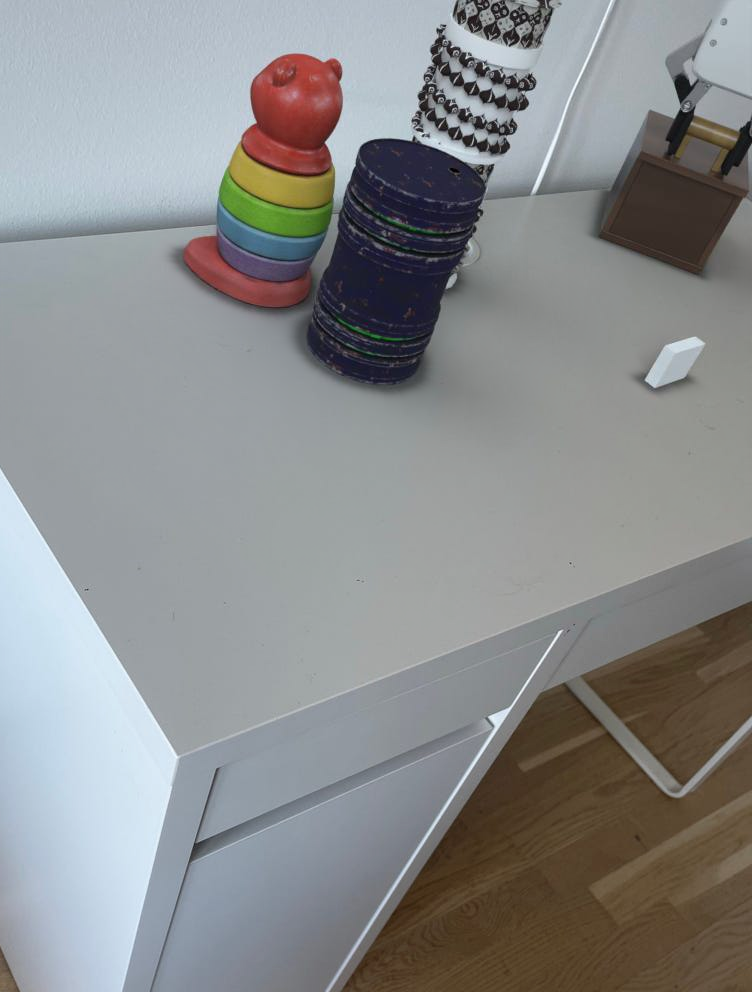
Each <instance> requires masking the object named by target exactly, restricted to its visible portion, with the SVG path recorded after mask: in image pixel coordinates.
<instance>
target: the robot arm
mask: <svg viewBox="0 0 752 992" xmlns="http://www.w3.org/2000/svg"><path fill="white" fill-rule="evenodd" d="M690 59H691V61H692V65H691V73H692V75H694V77H696V79H695V80H694V81H693V82H692V84H691V81H690V78H689V75H688V73H687V71H686V69H685V66H684V64H685V62H687V61H689V60H690ZM664 63H665V67H666V69H667V72H668V73H669V76H670V78H671V80H672V82H673V85H674V89H675V92H676V96H677V99H678V101H679V102H678V103H679V105H680V107H679V110H678V112H677V113H676V115H675V118H674V121H673V123H672V125H671V127H670V129H669V131H668V134H667V136H666V138H665V141H668V142H670V143H669V145H668V151H667V154H669V155H675V153H676V151H677V149H678V147H679V145H680V143H681V141H682V140H683V138H684V136H685V134H686V132H687V130H688V128H689V126H690V124H691V122H692V120H693V118H694V115H695V110H696V108H697V104H698V103H699V102H700V101H701V100H702V99H703V97H705V95H706V94H707V93H708V92H709V91H710V89H712V87H715V88H718V89H721V90H723V91H726V92H729V93H732V94H734V95H737V96H740V97H743V98H745V99H749V100H751V101H752V0H720V1H719V2H718V5H717V7H716V8H715V10H714V12H713V14H712V15H711V17H710V19H709V21H708V23H707V25H706V26H705V29H704V30H703V32H702V33H700V34H699V35H697V36H695V37H694V38H692V39H690V40H689V41H687V42H685V43H684V44H682V45H681V46H679V47H677V48H676V49H674V50H672V51H671V52H669V53H668V54H667V55H666V57H665V62H664ZM738 131H739V132H740V136H739V138H738V140H737V142H736V144H735V146H734V148H733V149H732V150H731V151H730V150H729V152H728V154H727V156H726V158H725V159H724V161H723V163H722V165H721V172H722V174H723V175H725V176H727V175H728V173H729V172H730V170H731V168H732V166H735V167H739V165H740V164H741V162H742V160H743V158H744V157H745V155H746V153H747V151H748V152H749V149H750V148H751V146H752V113H751V114H750V119H749V121H747V122H746V123H745V125H743V126H741V127H740V128H739V130H738Z"/></svg>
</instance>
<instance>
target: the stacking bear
mask: <svg viewBox="0 0 752 992" xmlns="http://www.w3.org/2000/svg"><path fill="white" fill-rule="evenodd" d="M343 74H344V73H343V67H342V64H341V62H340V61H339V60H338V59H336V58H332V57H331V58H329V59H327V60H325V61H322V60H321V59H319V58H316V57H315V56H313V55H309V54H305V53H288V54H283V55H281V56H279V57H277V58H275V59H273V60H271V62H270V63H268V64H267V66H265V67H264V68H263V69H262V70H261V71H260V72H258V73H257V75H256V76H255V77H254V78H253V79H252V81H251V85H250V88H249V92H250V93H249V98H250V106H251V110H252V115H253V117H254V120H255V122H256V123H253V124H251V125H250V126H249V127H248V128H247V129H245V131H244V132H243V133H242V135H241V139H240V140H239V142H238V143H237V145H236V147H235V149H234V151H233V153H232V155H231V158H230V160H229V164H228V165H227V167H226V169H225V171H224V173H223V176H222V179H221V182H220V186H219V188H218V196H217V202H216V203H217V204H216V235H205V236H199V237H195V238H192V239H191V240H190V241H189V242H188V243H187V245H186V246H185V248H184V250H183V253H182V257H183V261H184V263H185V264H186V265H187V266H188V267H189V269H190V270H192V272H194V273H195V274H196V275H197V276H198V277H199V278H200V279H202V280H203V281H204V282H206V283H207V284H209V285H210V286H211V287H213V288H215V289H217V290H219V291H220V292H222V293H224V294H226V295H228V296H230V297H232V298H234V299H236V300H239V301H242V302H244V303H248V304H250V305H254V306H258V307H259V306H260V307H264V308H265V307H267V308H285V307H290V306H291V307H292V306H294V305H297V304H298V303H300V302H302V301H304V300H305V299H306V298H307V296H308V295H309V294H310V290H311V283H312V274H311V266H312V264H313V263H314V261H315V258H316V256H317V254H318V252H319V251H320V249H321V248H322V246H323V244H324V241H325V240H326V238H327V235H328V232H329V227H330V224H331V222H332V217H333V210H334V203H335V202H334V201H335V199H334V194H335V188H336V168H335V164H334V163H333V158H332V153H331V151H330V149H329V147H328V145H327V144H326V142H327V141H328V139H329V138H330V137H331V135H332V134H333V133H334V131H335V130H336V127H337V126H338V123H339V122H340V118H341V115H342V111H343V108H344V107H343V105H344V95H343V89H342V87H341V82H340V81H341V80H342V78H343Z"/></svg>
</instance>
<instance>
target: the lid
mask: <svg viewBox="0 0 752 992" xmlns="http://www.w3.org/2000/svg"><path fill="white" fill-rule="evenodd" d="M645 118H646V119H645ZM645 118H644V119H645V124H644V129H643V134H642V138H641V143H640V148H639V153H638V159H641V160H644V161H646V162H649V163H652V164H654V165H657V166H660V167H662V168H665V169H668V170H670V171H673V172H676V173H678V174H681V175H684V176H686V177H689V178H692V179H694V180H697V181H700V182H703V183H705V184H708V185H711V186H713V187H716V188H719V189H721V190H724V191H727V192H729V193H732V194H735V195H737V196H740V197H743V199H746V198H747V195H748V194H749V192H750V175H749V174H750V173H749V171H750V169H749V150H748V151H747V153H746V155H745V157H744V158H743V160H742V162H741V164H740V165H739V167H735V166H732V168H731V170H730V172H729V173H728V175H727V176H725V175H723V174H722V172H721V165H722V163H723V161H724V159H725V158H726V156H727V154H728V152H729V150H730V151H731V150H732V149H733V148H734V146H735V144H736V142H737V140H738V138H739V136H740V132H739V130H737V129H734V128H731V127H729V126H726V125H723V124H720V123H718V122H715V121H713V120H709V119H707V118H704V117H701V116H699V115H696V114H694V118H693V120H692V122H691V124H690V126H689V128H688V130H687V132H686V134H685V136H684V138H683V140H682V141H681V143H680V145H679V147H678V149H677V151H676V153H675V155H669V154H667V151H668V145H669V143H670V142H668V141H665V138H666V136H667V134H668V131H669V129H670V127H671V125H672V123H673V121H674V119H675V118H674V117H672V116H668V115H666V114H663V113H661V112H658V111H655V110H653V109H648V111H647V113H646V115H645Z"/></svg>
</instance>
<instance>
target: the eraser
mask: <svg viewBox="0 0 752 992" xmlns="http://www.w3.org/2000/svg"><path fill="white" fill-rule="evenodd" d="M705 346H706V342H704V341H703V340H701V339H700V338H699V337H697V336H696V335H695V336H691V337H688V338H685V339H682V340H678V341H676V342H672V343H668V344H665V345H664V346H663V348H662V350H661V352H660V353H659V354H658V356H657V358H656V361H655V362H654V363H653V365H652V367H651V369H650V370H649V371H648V374H647V375H646V377H645V378H644V382H646V383H647V384H649V385H650V386H651V387H653V388H654V389H656V388H659V387H663V386H665V385H668V384H670V383H673V382H677V381H680V380H682V379H685V378H686V376H687V374H688V373H689V372H690V370H691V368H692V367H693V365H694V363H695V362H696V361H697V359H698V357H699V355H700V354H701V353H702V350H703V349H704V348H705Z"/></svg>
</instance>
